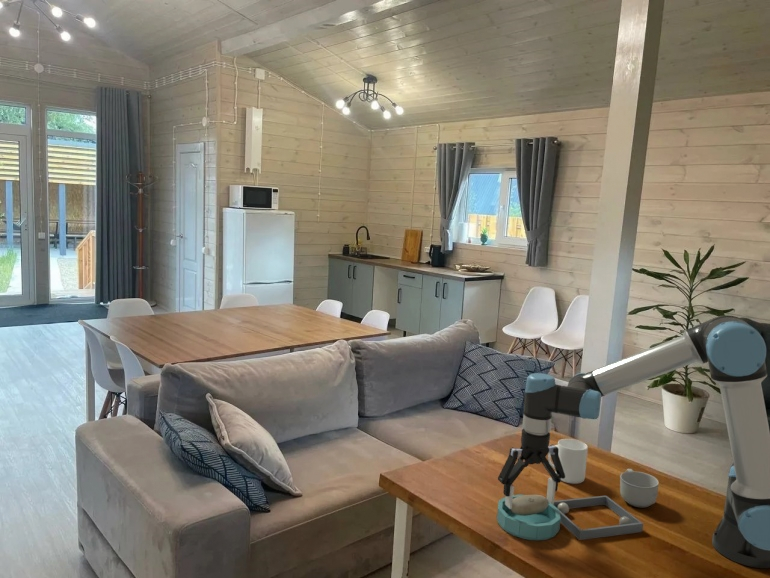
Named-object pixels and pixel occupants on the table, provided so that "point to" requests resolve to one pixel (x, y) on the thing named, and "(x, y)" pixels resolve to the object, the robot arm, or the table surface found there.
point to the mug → (572, 460)
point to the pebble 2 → (624, 520)
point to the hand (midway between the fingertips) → (529, 504)
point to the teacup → (638, 488)
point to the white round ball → (563, 508)
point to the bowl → (529, 522)
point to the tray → (601, 531)
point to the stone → (529, 504)
